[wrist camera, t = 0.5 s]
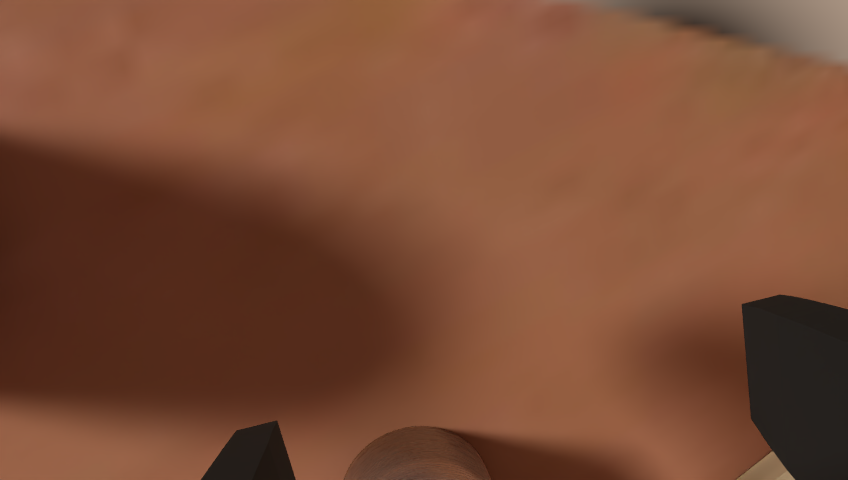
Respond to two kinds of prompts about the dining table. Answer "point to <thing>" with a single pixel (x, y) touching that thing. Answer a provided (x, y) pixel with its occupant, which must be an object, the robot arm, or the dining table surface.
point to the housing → (418, 457)
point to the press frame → (767, 470)
